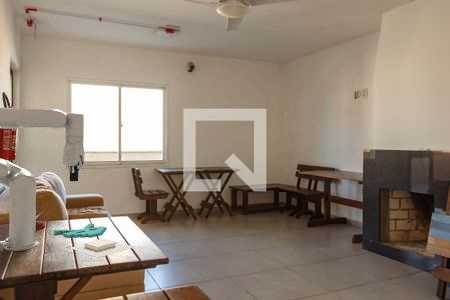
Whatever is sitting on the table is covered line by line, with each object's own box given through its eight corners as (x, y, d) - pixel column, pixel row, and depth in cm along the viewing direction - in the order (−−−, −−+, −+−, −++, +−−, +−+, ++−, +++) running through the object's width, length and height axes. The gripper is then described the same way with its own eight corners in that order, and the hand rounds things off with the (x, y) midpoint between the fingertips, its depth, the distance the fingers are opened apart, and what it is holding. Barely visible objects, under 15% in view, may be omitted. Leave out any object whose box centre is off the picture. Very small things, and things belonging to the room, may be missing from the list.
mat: (98, 259, 133) (98, 257, 133) (68, 249, 145) (68, 247, 145) (135, 248, 148) (135, 246, 148) (105, 240, 159) (105, 238, 159)
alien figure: (54, 234, 169) (76, 242, 157) (54, 230, 169) (76, 237, 157) (91, 227, 185) (114, 234, 173) (91, 223, 185) (114, 229, 173)
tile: (84, 247, 146) (97, 251, 141) (84, 242, 146) (97, 246, 141) (102, 242, 153) (115, 246, 148) (102, 238, 153) (115, 242, 148)
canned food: (36, 238, 176) (30, 223, 172) (22, 234, 180) (15, 219, 175) (53, 224, 186) (48, 209, 181) (39, 220, 189) (33, 206, 184)
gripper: (57, 139, 158) (56, 180, 158) (76, 140, 149) (75, 183, 149) (72, 140, 164) (72, 179, 164) (91, 140, 155) (91, 181, 155)
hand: (73, 181), depth 157 cm, fingers closed
